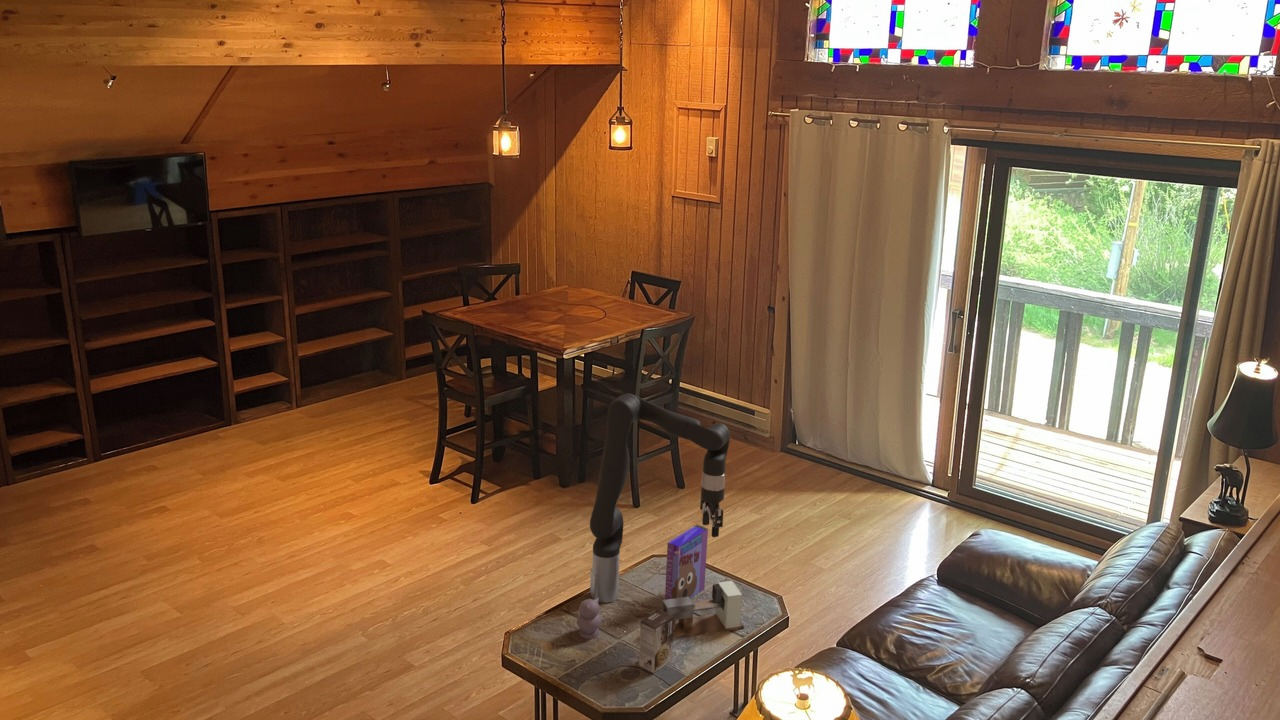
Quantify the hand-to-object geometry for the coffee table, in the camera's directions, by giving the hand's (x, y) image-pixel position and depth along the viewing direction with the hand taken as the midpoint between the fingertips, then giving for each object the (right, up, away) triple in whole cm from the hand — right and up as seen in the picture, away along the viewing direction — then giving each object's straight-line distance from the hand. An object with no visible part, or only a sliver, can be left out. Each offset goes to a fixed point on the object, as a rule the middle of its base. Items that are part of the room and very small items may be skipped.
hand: (710, 530), depth 324 cm
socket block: (+7, -33, +11) cm, 35 cm away
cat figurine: (-39, -34, +2) cm, 52 cm away
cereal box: (-7, -28, +25) cm, 38 cm away
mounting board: (-3, -33, +8) cm, 34 cm away
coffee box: (-18, -39, -13) cm, 45 cm away
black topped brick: (0, -27, +6) cm, 28 cm away
